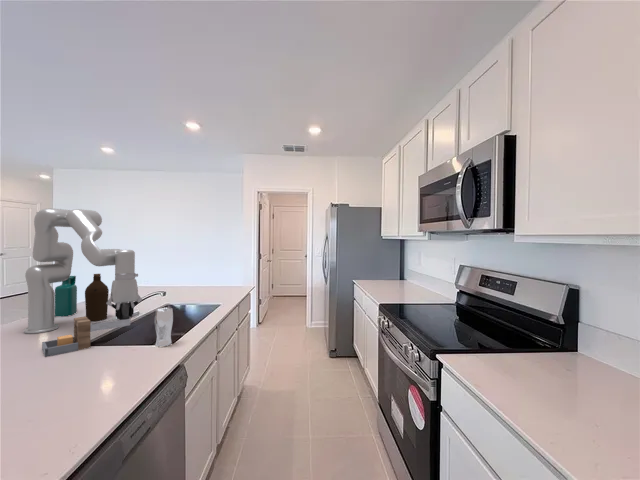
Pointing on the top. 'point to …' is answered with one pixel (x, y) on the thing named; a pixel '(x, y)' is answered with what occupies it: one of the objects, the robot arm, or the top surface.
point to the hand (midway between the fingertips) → (124, 316)
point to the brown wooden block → (82, 332)
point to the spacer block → (64, 340)
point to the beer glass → (163, 326)
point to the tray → (57, 348)
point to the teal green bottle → (66, 297)
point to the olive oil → (96, 299)
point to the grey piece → (115, 323)
